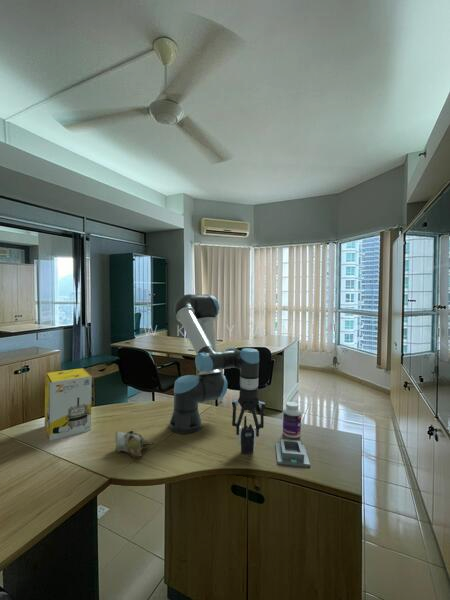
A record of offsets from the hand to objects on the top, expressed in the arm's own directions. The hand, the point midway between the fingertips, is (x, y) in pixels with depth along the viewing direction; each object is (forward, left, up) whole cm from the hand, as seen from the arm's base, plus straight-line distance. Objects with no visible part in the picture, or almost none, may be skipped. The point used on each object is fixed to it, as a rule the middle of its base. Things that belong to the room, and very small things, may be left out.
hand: (247, 443), depth 117 cm
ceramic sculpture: (-46, -8, -4) cm, 46 cm away
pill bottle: (+20, +17, -4) cm, 26 cm away
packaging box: (-83, +6, -4) cm, 83 cm away
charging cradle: (+18, 0, -3) cm, 18 cm away
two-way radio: (0, 0, -4) cm, 4 cm away
